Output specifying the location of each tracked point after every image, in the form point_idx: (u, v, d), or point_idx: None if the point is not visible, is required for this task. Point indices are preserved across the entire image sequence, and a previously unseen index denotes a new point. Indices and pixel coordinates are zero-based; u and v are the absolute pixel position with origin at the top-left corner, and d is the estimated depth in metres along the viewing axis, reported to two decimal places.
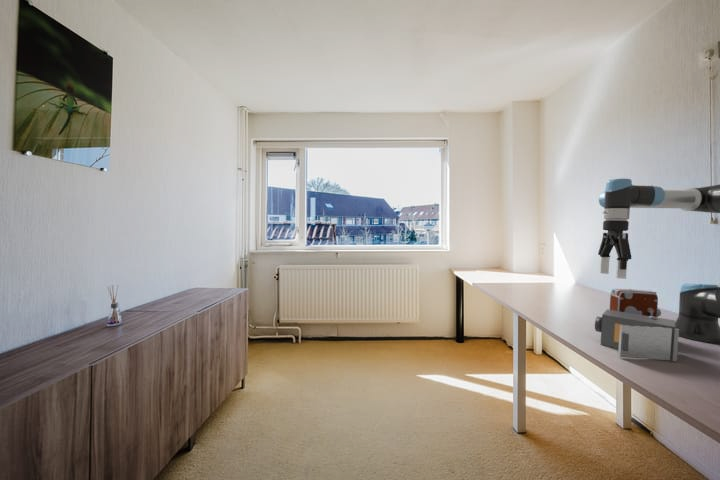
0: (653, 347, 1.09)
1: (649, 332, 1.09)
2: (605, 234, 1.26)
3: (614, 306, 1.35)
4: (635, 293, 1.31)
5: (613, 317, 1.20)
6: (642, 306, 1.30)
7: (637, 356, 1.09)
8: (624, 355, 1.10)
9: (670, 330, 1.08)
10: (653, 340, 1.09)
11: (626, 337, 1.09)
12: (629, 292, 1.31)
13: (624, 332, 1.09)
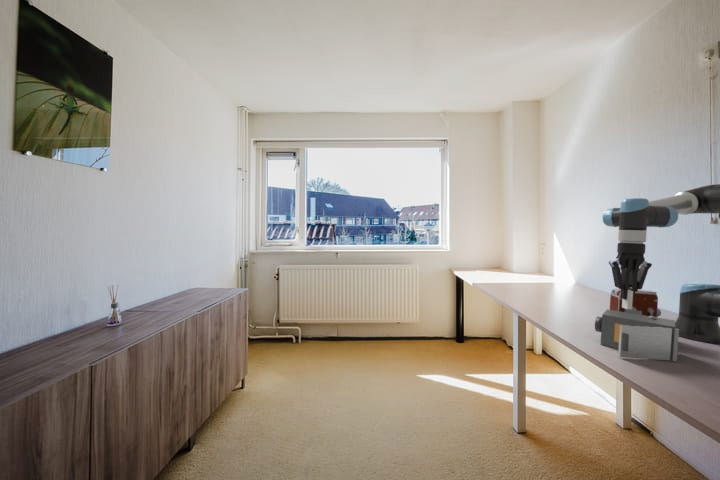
0: (653, 347, 1.09)
1: (649, 332, 1.09)
2: None
3: (614, 306, 1.35)
4: (635, 293, 1.31)
5: (613, 317, 1.20)
6: (642, 306, 1.30)
7: (637, 356, 1.09)
8: (624, 355, 1.10)
9: (670, 330, 1.08)
10: (653, 340, 1.09)
11: (626, 337, 1.09)
12: None
13: (624, 332, 1.09)
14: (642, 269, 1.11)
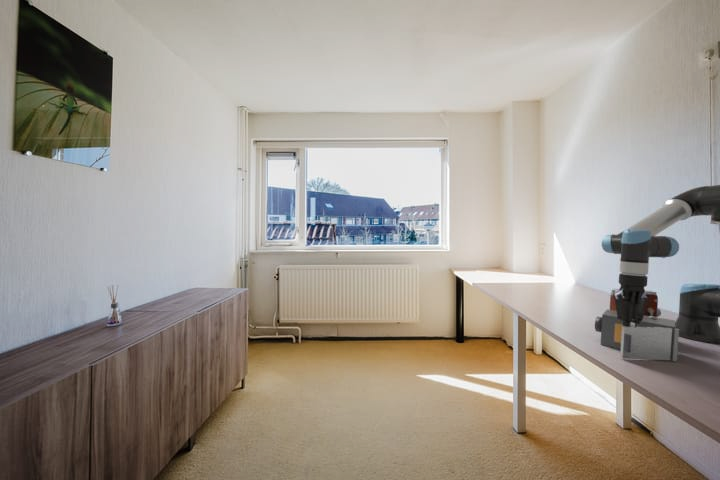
0: (654, 347, 1.08)
1: (650, 332, 1.08)
2: None
3: (614, 306, 1.35)
4: None
5: (613, 317, 1.20)
6: None
7: (639, 357, 1.09)
8: (626, 356, 1.09)
9: (670, 330, 1.08)
10: (654, 340, 1.08)
11: (629, 338, 1.08)
12: None
13: (626, 333, 1.08)
14: (642, 300, 1.11)
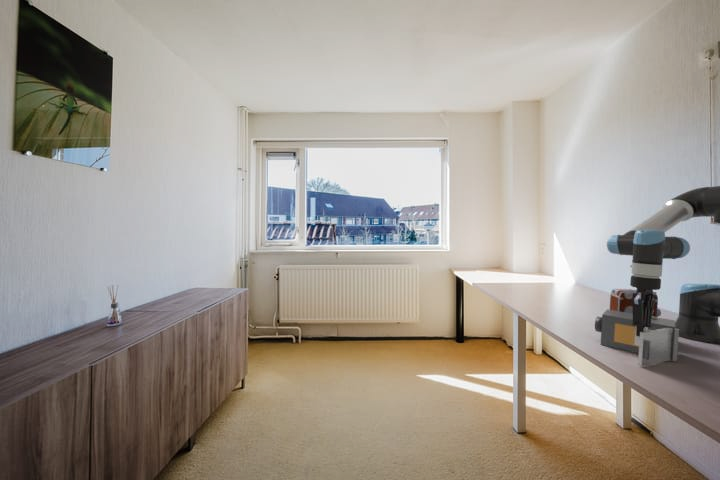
0: (661, 350, 1.06)
1: (659, 335, 1.06)
2: None
3: (614, 306, 1.35)
4: None
5: (613, 317, 1.20)
6: None
7: (652, 362, 1.05)
8: (644, 363, 1.03)
9: (671, 330, 1.08)
10: (661, 343, 1.06)
11: (648, 344, 1.02)
12: (629, 292, 1.31)
13: (645, 339, 1.03)
14: None
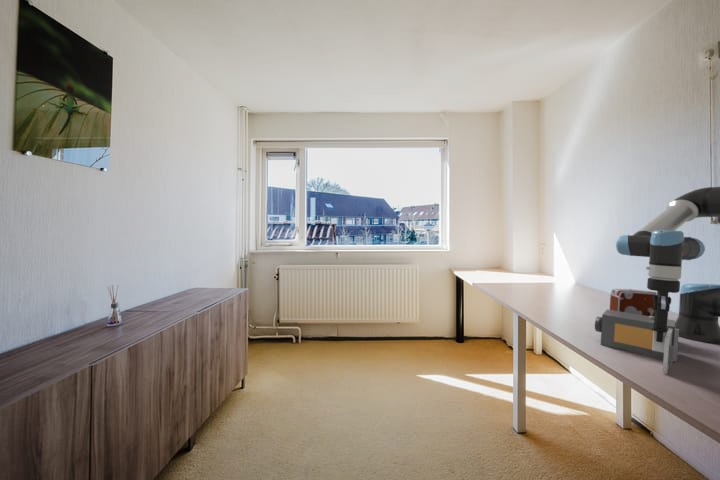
0: None
1: None
2: None
3: (614, 306, 1.35)
4: (635, 293, 1.31)
5: (613, 317, 1.20)
6: (642, 306, 1.30)
7: (668, 366, 1.02)
8: (667, 370, 0.99)
9: (672, 330, 1.08)
10: (670, 345, 1.05)
11: None
12: (629, 292, 1.31)
13: (669, 345, 0.98)
14: None
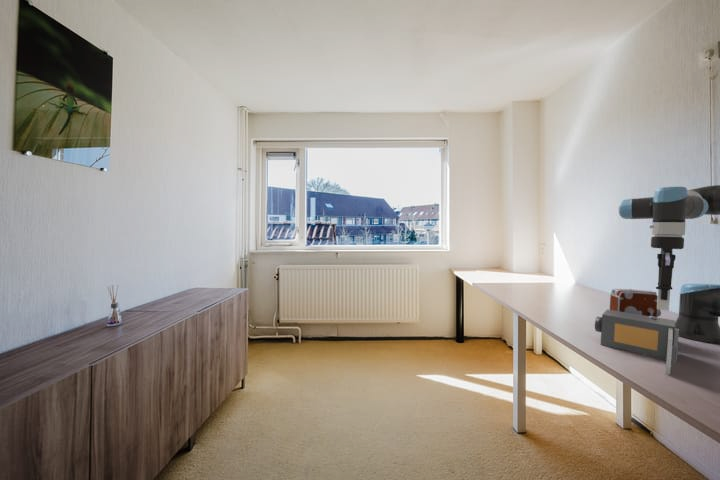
0: None
1: None
2: None
3: (614, 306, 1.35)
4: (635, 293, 1.31)
5: (613, 317, 1.20)
6: (642, 306, 1.30)
7: None
8: None
9: (672, 330, 1.08)
10: None
11: None
12: (629, 292, 1.31)
13: None
14: None
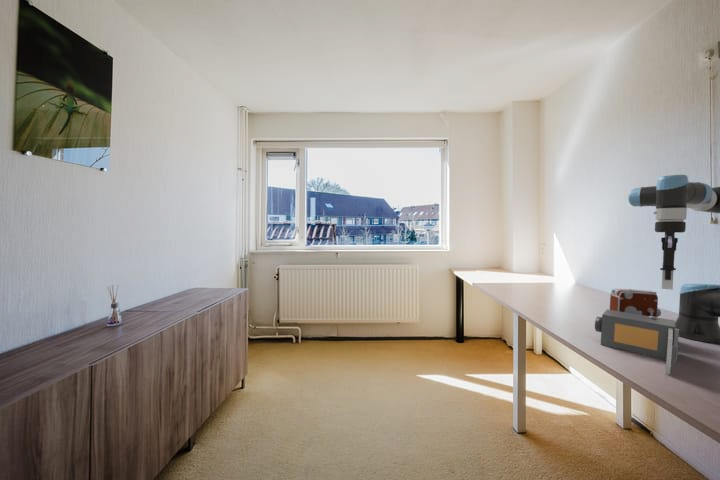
0: None
1: None
2: None
3: (614, 306, 1.35)
4: (635, 293, 1.31)
5: (613, 317, 1.20)
6: (642, 306, 1.30)
7: None
8: None
9: (672, 330, 1.08)
10: None
11: None
12: (629, 292, 1.31)
13: None
14: None
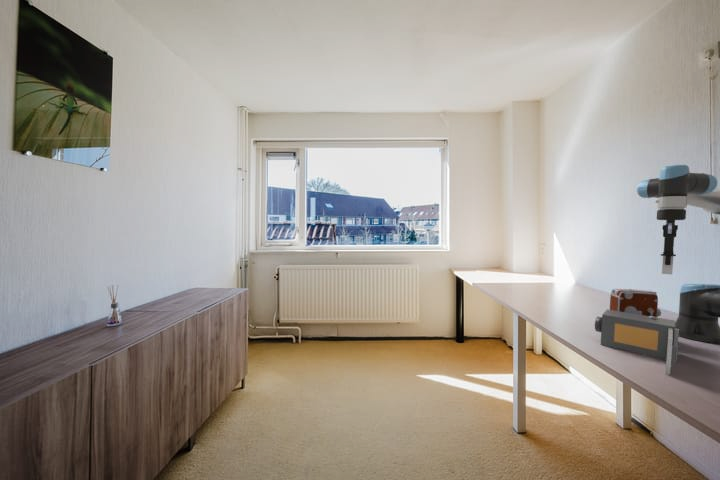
0: None
1: None
2: None
3: (614, 306, 1.35)
4: (635, 293, 1.31)
5: (613, 317, 1.20)
6: (642, 306, 1.30)
7: None
8: None
9: (672, 330, 1.08)
10: None
11: None
12: (629, 292, 1.31)
13: None
14: None
